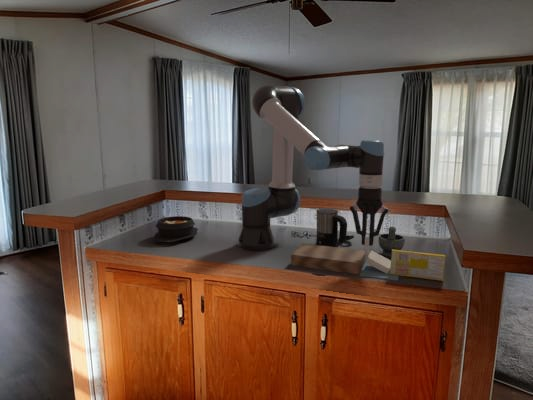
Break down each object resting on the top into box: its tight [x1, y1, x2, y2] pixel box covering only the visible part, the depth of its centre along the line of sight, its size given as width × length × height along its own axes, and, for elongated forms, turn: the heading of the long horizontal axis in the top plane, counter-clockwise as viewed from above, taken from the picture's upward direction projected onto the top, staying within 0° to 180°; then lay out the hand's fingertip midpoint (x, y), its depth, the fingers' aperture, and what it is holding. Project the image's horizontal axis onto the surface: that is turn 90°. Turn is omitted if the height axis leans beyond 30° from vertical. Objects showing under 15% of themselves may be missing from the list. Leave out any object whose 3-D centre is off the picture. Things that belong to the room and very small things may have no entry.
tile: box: [365, 250, 391, 274], centre depth 131 cm, size 8×8×2 cm
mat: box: [359, 262, 400, 282], centre depth 131 cm, size 12×16×1 cm
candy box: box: [390, 249, 446, 282], centre depth 124 cm, size 16×2×8 cm, turn 72°
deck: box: [290, 243, 367, 275], centre depth 138 cm, size 24×14×4 cm, turn 68°
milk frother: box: [315, 208, 355, 247], centre depth 159 cm, size 14×16×15 cm
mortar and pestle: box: [378, 226, 406, 257], centre depth 146 cm, size 11×9×12 cm
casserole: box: [151, 215, 199, 243], centre depth 170 cm, size 25×19×8 cm
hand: (366, 254), depth 132 cm, fingers closed
